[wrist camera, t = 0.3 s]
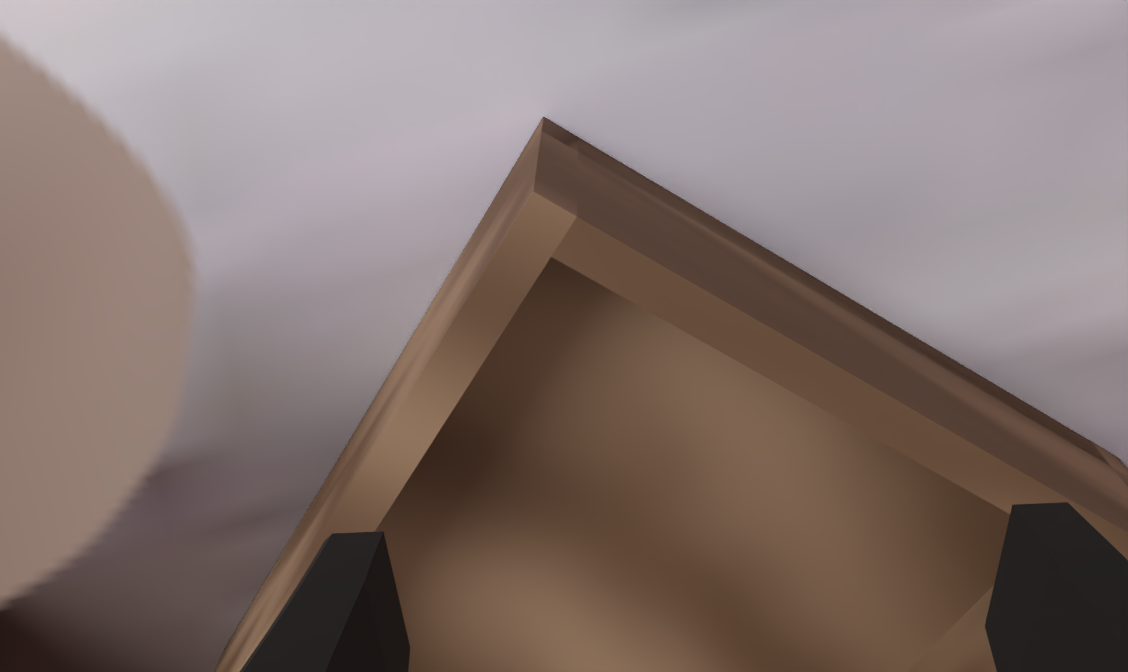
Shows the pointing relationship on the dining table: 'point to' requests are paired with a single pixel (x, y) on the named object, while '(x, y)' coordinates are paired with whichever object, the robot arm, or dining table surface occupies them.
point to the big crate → (678, 456)
